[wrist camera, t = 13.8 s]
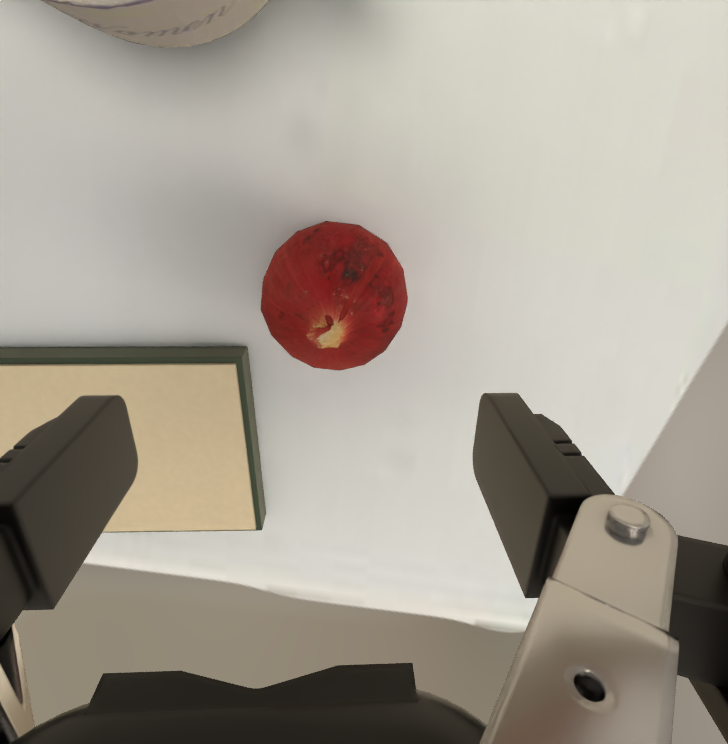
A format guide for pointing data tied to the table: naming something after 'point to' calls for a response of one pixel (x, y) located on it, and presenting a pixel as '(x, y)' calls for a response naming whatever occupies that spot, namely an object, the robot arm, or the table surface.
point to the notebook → (155, 427)
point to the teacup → (162, 18)
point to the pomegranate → (334, 296)
